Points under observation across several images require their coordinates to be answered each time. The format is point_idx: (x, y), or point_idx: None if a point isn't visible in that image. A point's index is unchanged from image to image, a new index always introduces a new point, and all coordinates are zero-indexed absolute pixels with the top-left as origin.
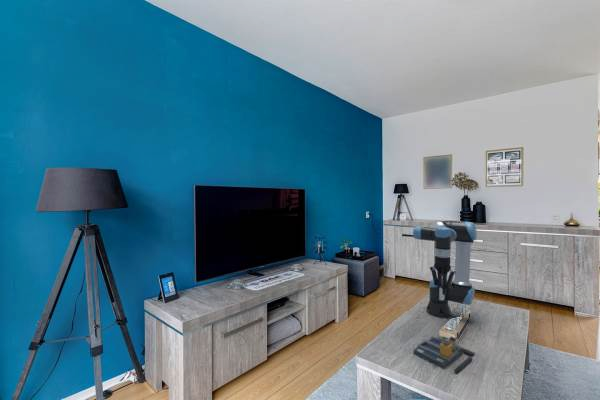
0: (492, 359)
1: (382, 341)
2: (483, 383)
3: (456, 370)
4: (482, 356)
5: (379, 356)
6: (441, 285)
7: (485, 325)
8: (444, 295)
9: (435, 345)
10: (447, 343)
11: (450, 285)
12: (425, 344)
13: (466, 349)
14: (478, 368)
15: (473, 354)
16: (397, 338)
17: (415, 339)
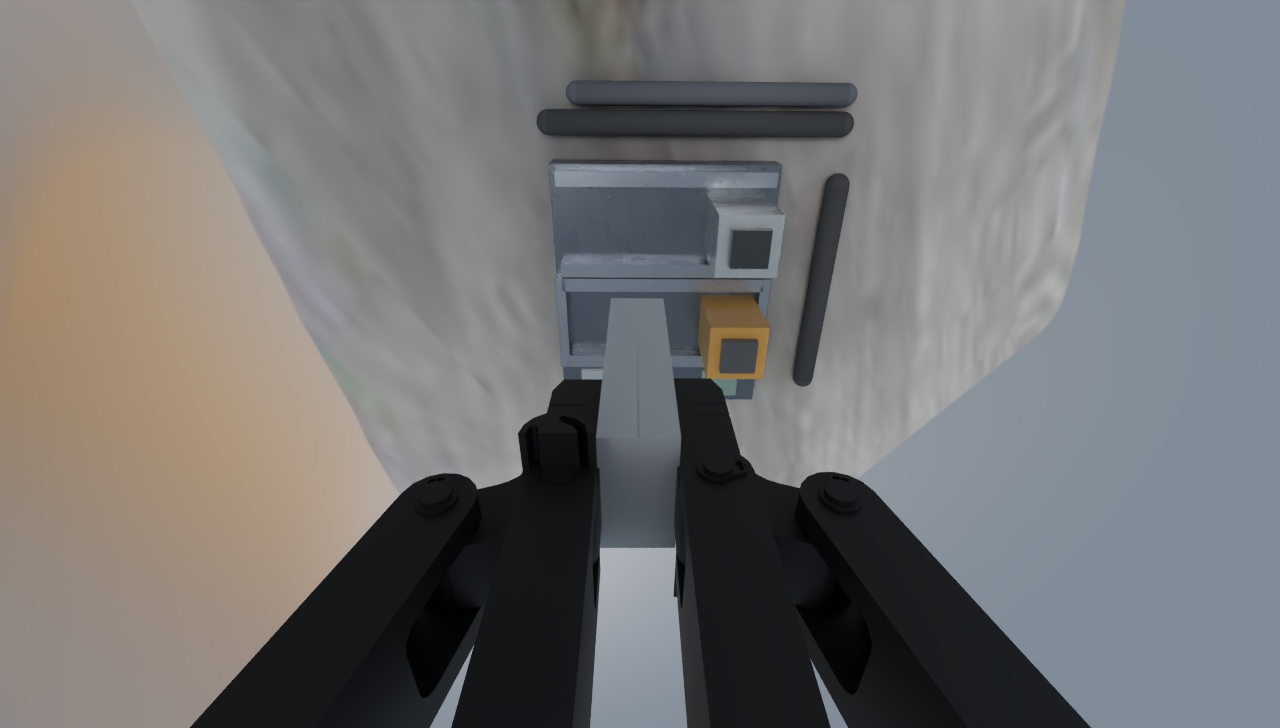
0: (958, 27)
1: (382, 410)
2: (924, 348)
3: (807, 384)
4: (891, 47)
5: None
6: (595, 495)
7: None
8: (667, 334)
9: (637, 282)
10: (747, 352)
11: (908, 539)
12: (574, 292)
13: (794, 95)
14: (887, 235)
15: (850, 130)
16: (396, 314)
17: (466, 227)
